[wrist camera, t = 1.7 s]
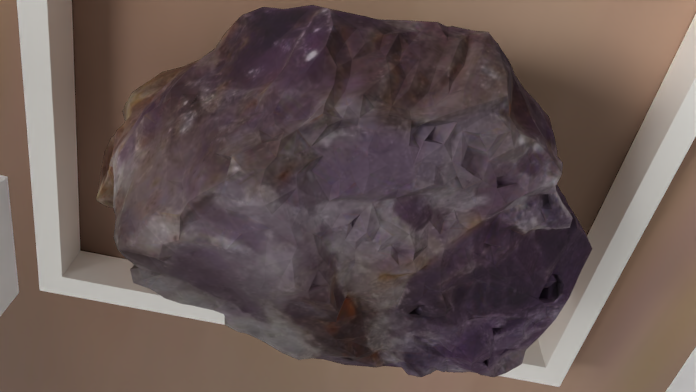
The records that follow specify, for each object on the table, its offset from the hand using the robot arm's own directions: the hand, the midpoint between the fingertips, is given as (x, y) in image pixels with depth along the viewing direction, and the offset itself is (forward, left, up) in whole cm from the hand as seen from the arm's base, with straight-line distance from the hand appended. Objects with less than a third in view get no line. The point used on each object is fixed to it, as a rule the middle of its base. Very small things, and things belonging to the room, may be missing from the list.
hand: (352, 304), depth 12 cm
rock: (0, 0, -9) cm, 9 cm away
